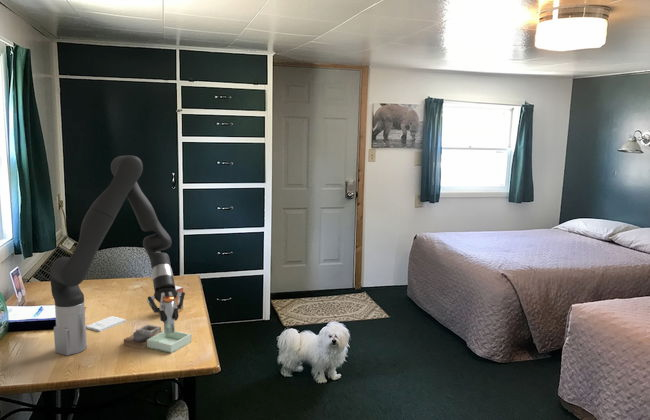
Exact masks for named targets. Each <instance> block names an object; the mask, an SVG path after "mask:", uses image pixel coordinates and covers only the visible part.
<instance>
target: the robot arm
mask: <svg viewBox="0 0 650 420" xmlns="http://www.w3.org/2000/svg"><path fill="white" fill-rule="evenodd" d="M110 170H111V174H112V175H113V179H112V180H111V181H110V184H109V185H108V186H107V187H106V189H105V190H103V192H102V193H101V194H100V195H99V196H98V197H97V198H96V199H95V200H94V201H93V202H92V204H91V205H90V206H89V209H88V210H87V212H86V214H84V218H83V219H82V222H81V224H80V225H81V226H80V232H79V239H78V242H77V244H76V247H75V249H74V250H73V252H72V253H71V255H70V257H69V256H61V257H59V258H56V259H55V260H54V261H53V262H52V264H51V266H50V270H49V281H50V287H51V288H50V289H51V291H50V292H51V295H52V298H53V300H54V309H55V326H53V337H54V352H55V353H57V354H61V355H64V356H67V357H68V356H70V355H74V354H78V353H81V352H83V351H85V350H86V349H87V347H88V346H87V343H88V342H87V328H86V326H87V325H86V310H85V309H86V308H85V296H84V295H85V294H84V292H83V291H82V290H81V288H80V284H82V282H84V280H85V278H86V277H87V275H88V273H89V271H90V268H91V266H92V263H93V261H94V258H95V256H96V254H97V252H98V250H99V248H100V246H101V244H102V243H103V241H104V239H105V237H106V235H107V233H108V232H109V230H110V229H111V226H112V225H113V223H114V221H115V219H116V217H117V216H118V213H119V212H120V210H121V208H122V206H123V205H124V203H125V200H126V198H127V200H128V202H129V203H130V206H131V208H132V210H133V212H134V215H135V217H136V219H137V222H138V224H139V226H140V229H141V230H142V231H143V232H155V233H154V234H151V235H148V236H145V237H144V239H143V241H142V245H143V248H144V250H145V252H146V253H147V256H148V259H149V261H150V267H151V278H152V279H151V280H152V284H153V290H154V294H153V295H151V296H150V295H149V296H147V300H146V301H147V303H148V304H149V307H150V308H151V310H152V311H153V312H154V313H156V314H157V313H158V314H159V318H160V319H159V320H160V322H162V323H164V322H165V315H164V311H163V297H164V296H174V322H175V321H177V320H178V319H179V316H180V315H179V312H178V310H179V309H181V308H182V304H183V305H184V300H185V299H184V298H185V294H186V292H184V291H183V292H182V293H179V292H177V290H176V288H175V286H176V284H175V278H174V277H175V276H174V273H173V269H172V267H171V259H170V256H169V254H168V253H166V252H162V251H164V250H168V249H170V248H171V246H172V243H173V242H172V238H171V236H170V235H169V233H168V232H167V230H166V229H165V228H164V226H162V224H161V222H160V221H159V219H158V216H157V214H156V212H155V209H154V207H153V205H152V203H151V202H150V201H149V199H148V197H147V196H146V195H145V194H144V192H143V191H142V189H141V187H140V185H139V183H138V180H139V178H140V177H141V175H142V173H143V170H144V165H143V162H142V160H141V158H139V157H138V156H135V155H118V156H117V157H115V158H114V159H112V162H111V163H110ZM176 296H178V298H179V299H180V302H179V305H177V304H176V301H175V298H176ZM155 301H157V302H158V303H159V307H158V306H157V303H156V302H155Z"/></svg>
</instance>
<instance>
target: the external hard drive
mask: <svg viewBox="0 0 650 420" xmlns="http://www.w3.org/2000/svg"><path fill="white" fill-rule="evenodd" d="M124 323H126V319H125V318H121V317H117V316H113V315H111V316H109V317H108V316H107V317H106V318H103V319H100V320H98V321H96V322H93V323H90V324H87V325H86V330H90V331H91V330H92V331H95V332H98V333H100V332H103V331H105V330H108V329H112V328H113V327H116V326H119V325H121V324H124Z"/></svg>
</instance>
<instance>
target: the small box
mask: <svg viewBox="0 0 650 420" xmlns="http://www.w3.org/2000/svg"><path fill="white" fill-rule="evenodd" d="M175 288H176V290H177V292H179V293H182V292H184V288H183V287H182V286H178V285H175ZM175 301H176V304H177V305H179V302H180V299H179V298H178V296H176V298H175ZM163 311H164V309H163ZM183 311H184V303H183V304H182V308H181V309H179V310H178V313H180V312H183Z"/></svg>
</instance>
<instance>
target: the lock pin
mask: <svg viewBox="0 0 650 420" xmlns="http://www.w3.org/2000/svg"><path fill="white" fill-rule="evenodd" d="M163 309H164V315H165V322H163V326H164V327H163V331H164V332H165V333H167V334H170V333H173V332H175V331H176V329H175V320H174V296H164V297H163Z"/></svg>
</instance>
